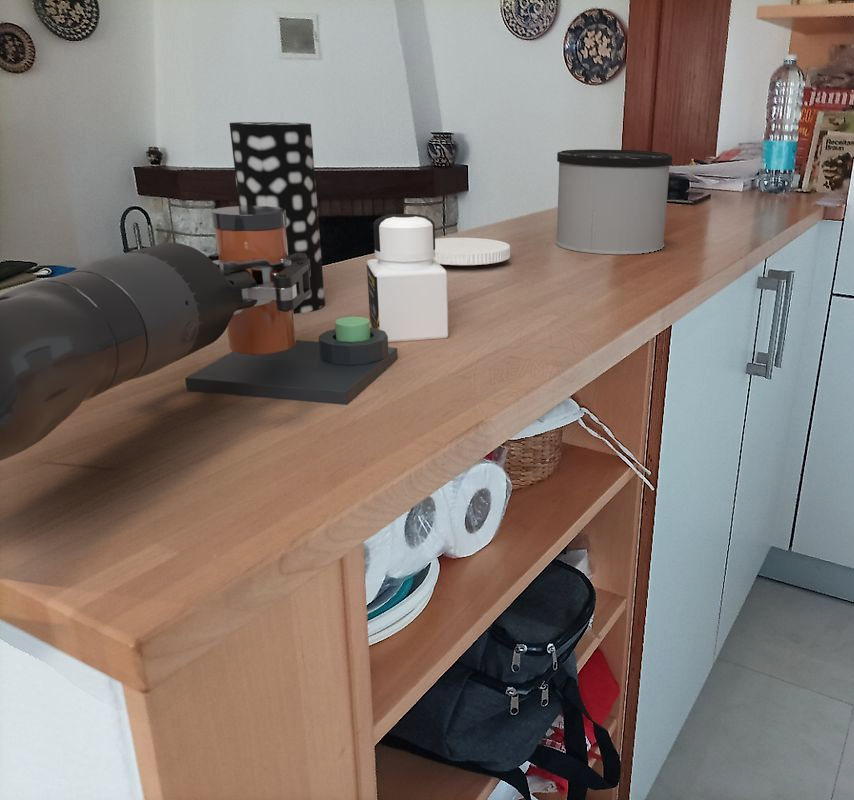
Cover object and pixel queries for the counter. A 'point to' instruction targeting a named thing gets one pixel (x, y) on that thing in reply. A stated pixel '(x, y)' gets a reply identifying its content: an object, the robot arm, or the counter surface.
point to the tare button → (352, 329)
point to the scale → (301, 370)
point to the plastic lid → (470, 251)
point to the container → (612, 200)
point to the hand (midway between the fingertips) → (269, 263)
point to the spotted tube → (282, 187)
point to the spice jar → (247, 238)
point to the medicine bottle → (407, 280)
